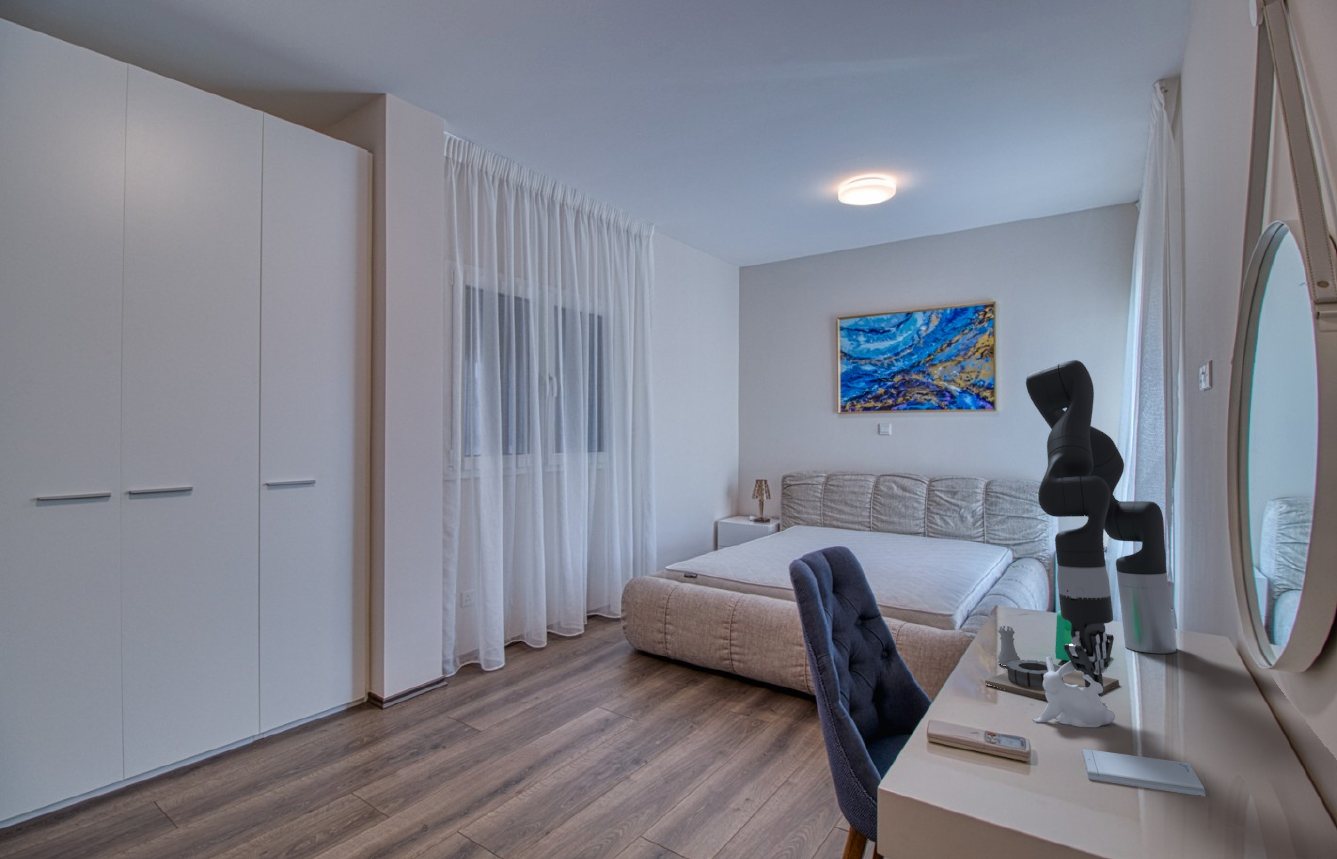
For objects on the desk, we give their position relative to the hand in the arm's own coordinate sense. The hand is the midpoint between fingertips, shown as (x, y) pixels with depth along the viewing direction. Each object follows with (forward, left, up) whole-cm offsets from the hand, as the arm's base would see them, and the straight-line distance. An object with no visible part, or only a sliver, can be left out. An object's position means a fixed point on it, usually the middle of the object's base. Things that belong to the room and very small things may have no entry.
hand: (1095, 695), depth 106 cm
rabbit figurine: (+4, -2, -4) cm, 6 cm away
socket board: (-10, -12, -3) cm, 16 cm away
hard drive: (+18, +13, -4) cm, 22 cm away
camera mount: (-32, -16, -4) cm, 36 cm away
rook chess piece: (-17, -24, -4) cm, 30 cm away
